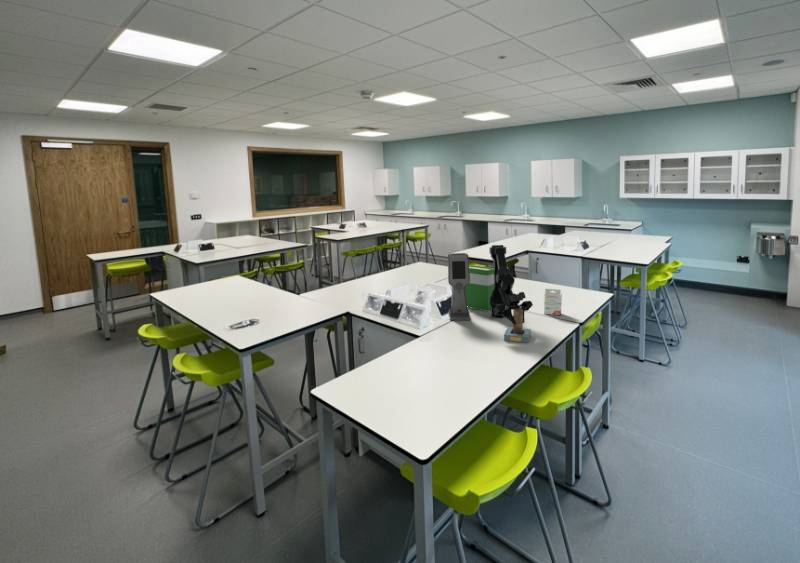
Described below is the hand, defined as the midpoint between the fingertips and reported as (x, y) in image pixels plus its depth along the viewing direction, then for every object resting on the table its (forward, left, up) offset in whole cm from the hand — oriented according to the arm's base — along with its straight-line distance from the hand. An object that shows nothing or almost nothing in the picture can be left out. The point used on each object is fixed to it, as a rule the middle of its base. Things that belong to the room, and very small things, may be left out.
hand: (519, 323), depth 203 cm
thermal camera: (-36, +24, -8) cm, 44 cm away
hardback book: (-30, +46, -8) cm, 55 cm away
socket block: (-1, +1, -8) cm, 8 cm away
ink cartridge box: (+12, +44, -8) cm, 46 cm away
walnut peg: (-1, +1, -7) cm, 7 cm away
